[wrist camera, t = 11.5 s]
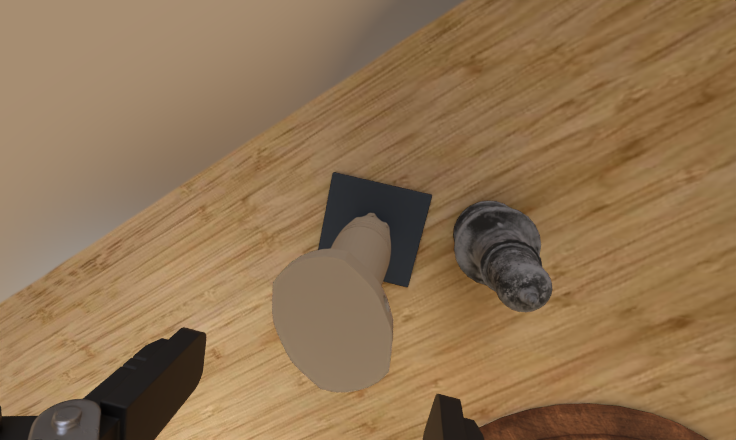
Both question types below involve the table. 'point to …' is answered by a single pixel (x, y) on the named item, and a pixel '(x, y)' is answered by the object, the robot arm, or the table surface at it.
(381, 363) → the handle
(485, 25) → the table surface
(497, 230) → the grey stone chess piece
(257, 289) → the table surface
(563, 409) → the cutting board
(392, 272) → the place mat
